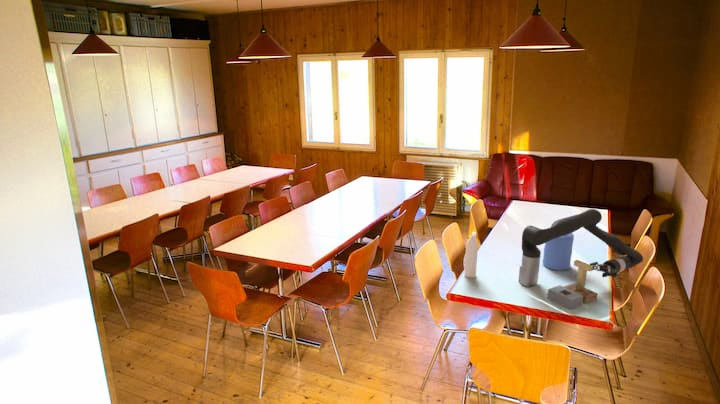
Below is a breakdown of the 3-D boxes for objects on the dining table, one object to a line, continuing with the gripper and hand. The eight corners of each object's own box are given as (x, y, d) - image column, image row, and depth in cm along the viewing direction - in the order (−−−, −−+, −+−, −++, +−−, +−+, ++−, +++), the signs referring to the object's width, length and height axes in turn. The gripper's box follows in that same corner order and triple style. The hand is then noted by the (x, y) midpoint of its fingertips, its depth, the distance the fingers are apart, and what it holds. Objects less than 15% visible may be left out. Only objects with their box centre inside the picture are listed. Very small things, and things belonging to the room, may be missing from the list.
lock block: (561, 294, 254) (562, 286, 253) (572, 290, 258) (573, 283, 257) (585, 305, 242) (586, 297, 241) (596, 301, 247) (597, 293, 245)
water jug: (572, 271, 281) (578, 226, 274) (544, 269, 284) (549, 225, 277) (567, 261, 296) (572, 218, 288) (540, 259, 299) (545, 217, 291)
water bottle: (474, 278, 273) (477, 237, 266) (463, 276, 276) (465, 236, 269) (477, 272, 281) (480, 232, 274) (466, 271, 283) (468, 231, 276)
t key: (569, 293, 253) (573, 261, 248) (573, 292, 254) (577, 259, 249) (584, 300, 245) (589, 267, 240) (588, 298, 247) (593, 265, 242)
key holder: (546, 299, 249) (548, 289, 247) (558, 295, 253) (559, 285, 251) (570, 311, 237) (571, 300, 235) (581, 306, 241) (583, 295, 239)
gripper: (603, 255, 265) (584, 261, 257) (628, 264, 253) (609, 270, 245) (601, 267, 267) (582, 273, 259) (626, 276, 255) (607, 283, 247)
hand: (595, 272), depth 252 cm, fingers open, 8 cm apart
